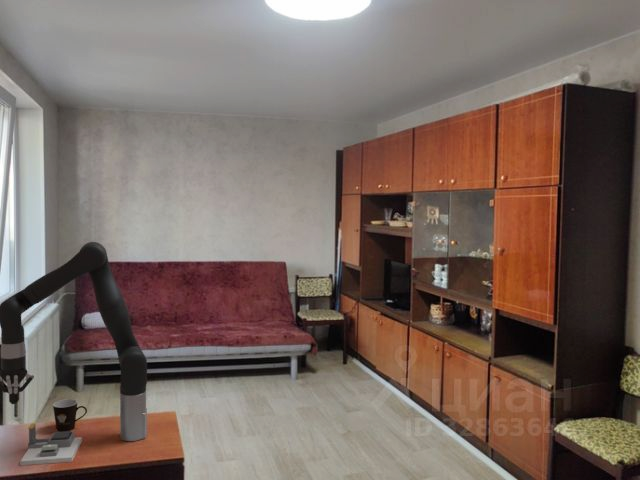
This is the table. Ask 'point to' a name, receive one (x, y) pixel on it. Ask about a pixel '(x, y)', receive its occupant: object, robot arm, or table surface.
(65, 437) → the push button
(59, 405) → the coffee mug
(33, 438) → the paddle slider
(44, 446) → the rocker switch
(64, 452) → the panel
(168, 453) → the table surface
